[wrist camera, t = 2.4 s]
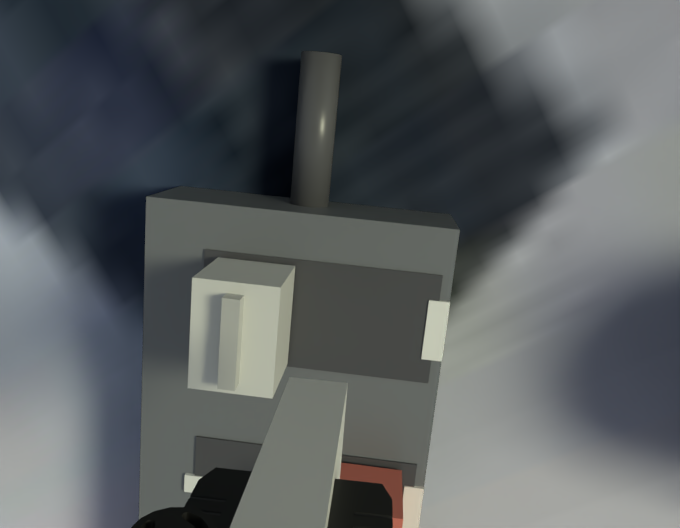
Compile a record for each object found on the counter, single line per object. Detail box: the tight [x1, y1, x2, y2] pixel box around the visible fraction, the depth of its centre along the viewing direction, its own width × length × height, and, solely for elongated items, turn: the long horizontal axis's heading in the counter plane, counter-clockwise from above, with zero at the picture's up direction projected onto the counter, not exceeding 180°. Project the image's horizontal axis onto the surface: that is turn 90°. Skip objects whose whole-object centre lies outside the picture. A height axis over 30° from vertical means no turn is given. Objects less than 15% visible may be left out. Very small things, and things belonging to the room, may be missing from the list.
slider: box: [188, 257, 295, 399], centre depth 22 cm, size 4×3×4 cm
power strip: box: [139, 51, 460, 528], centre depth 27 cm, size 30×12×4 cm, turn 175°
